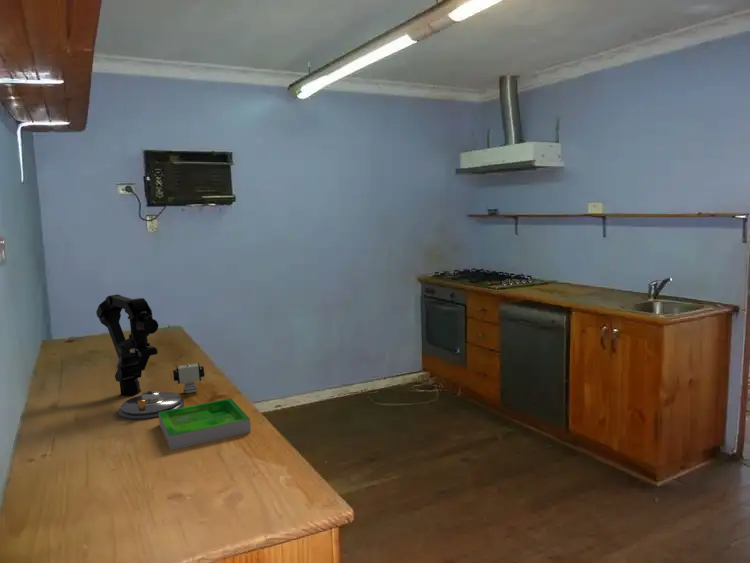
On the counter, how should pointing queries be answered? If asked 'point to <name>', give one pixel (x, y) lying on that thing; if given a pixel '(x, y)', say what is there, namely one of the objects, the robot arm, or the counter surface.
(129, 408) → the turntable
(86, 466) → the counter surface
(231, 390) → the counter surface
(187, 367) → the pneumatic valve
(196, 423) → the tray
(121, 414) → the turntable base
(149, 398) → the cover
